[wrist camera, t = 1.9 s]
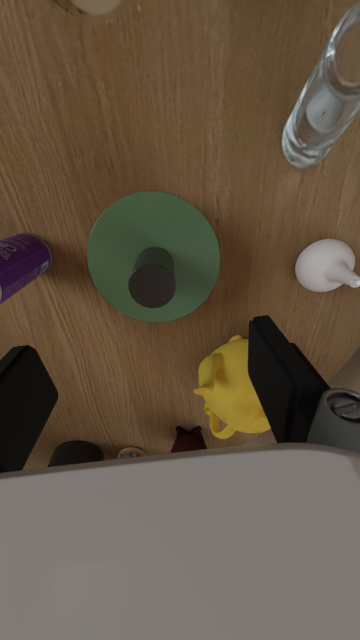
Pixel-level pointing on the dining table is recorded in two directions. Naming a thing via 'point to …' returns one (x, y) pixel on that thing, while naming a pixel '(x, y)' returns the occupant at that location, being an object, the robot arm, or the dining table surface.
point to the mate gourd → (188, 440)
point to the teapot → (230, 390)
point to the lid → (153, 256)
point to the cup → (75, 454)
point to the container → (21, 262)
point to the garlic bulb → (326, 266)
